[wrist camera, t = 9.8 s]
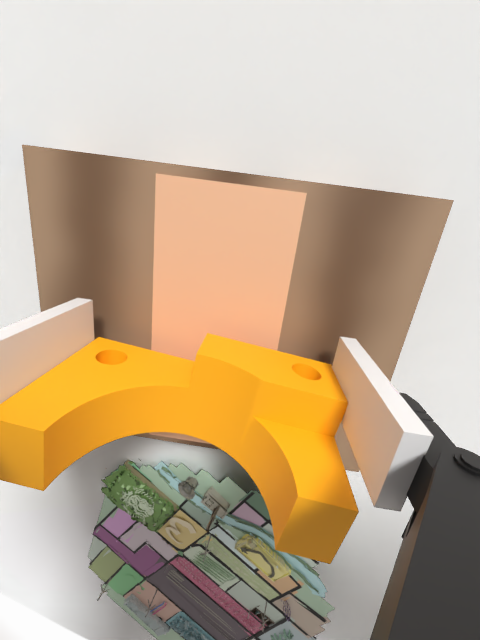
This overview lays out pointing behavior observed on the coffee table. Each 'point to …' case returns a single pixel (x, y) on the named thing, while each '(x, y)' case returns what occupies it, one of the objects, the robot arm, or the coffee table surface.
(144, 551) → the city model
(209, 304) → the board
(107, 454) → the coffee table surface
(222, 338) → the pipe clamp
